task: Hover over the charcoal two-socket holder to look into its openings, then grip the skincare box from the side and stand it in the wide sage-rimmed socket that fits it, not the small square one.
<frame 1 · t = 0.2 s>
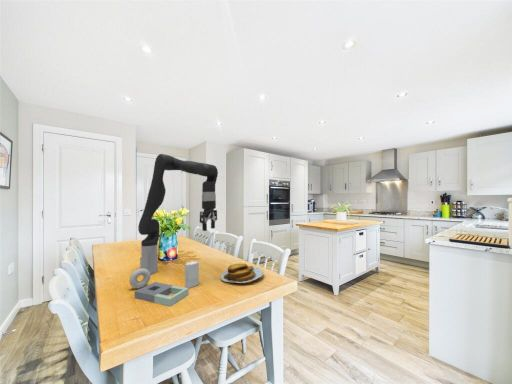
hand: (208, 229, 118), 29 cm above the table, tool pointing down, fingers open, 8 cm apart
skincare box: (191, 286, 114), on the table
socket holder: (167, 297, 101), on the table
food on plate: (242, 277, 126), on the table
donut: (140, 288, 112), on the table
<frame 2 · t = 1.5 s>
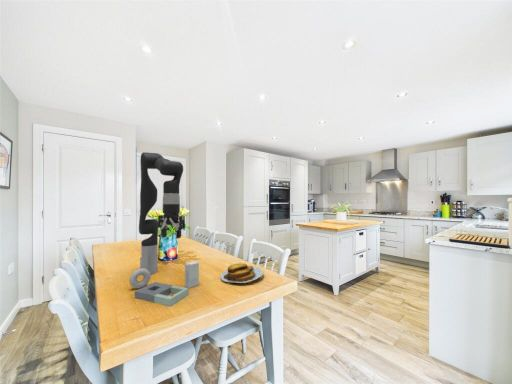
hand: (171, 237, 101), 28 cm above the table, tool pointing down, fingers open, 8 cm apart
nothing on the table moved.
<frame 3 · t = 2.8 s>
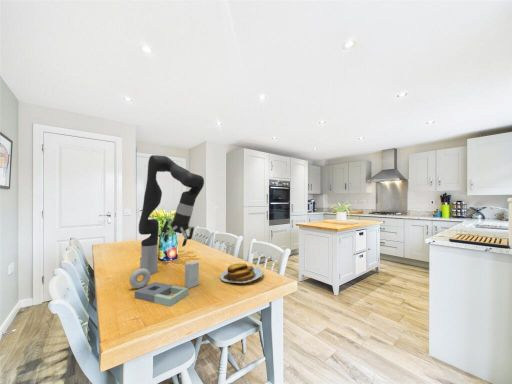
hand: (174, 244, 106), 24 cm above the table, tool tilted 20°, fingers open, 8 cm apart
nothing on the table moved.
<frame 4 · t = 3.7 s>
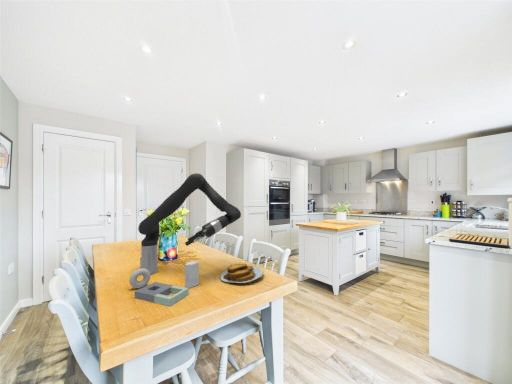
hand: (187, 242, 116), 23 cm above the table, tool tilted 65°, fingers open, 8 cm apart
nothing on the table moved.
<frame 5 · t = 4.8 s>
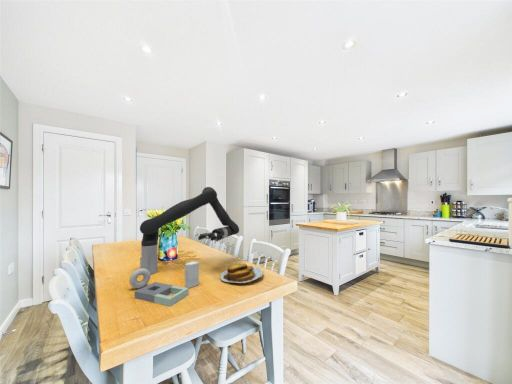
hand: (205, 238, 125), 23 cm above the table, tool horizontal, fingers open, 8 cm apart
nothing on the table moved.
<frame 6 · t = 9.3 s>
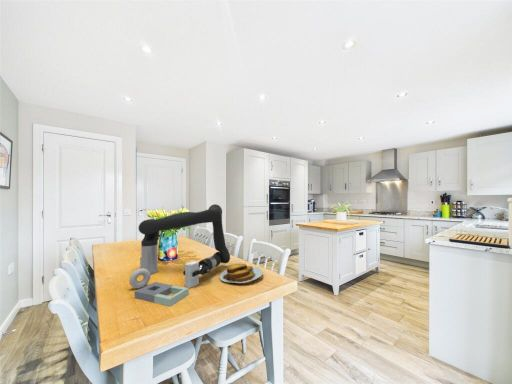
hand: (188, 274, 112), 7 cm above the table, tool horizontal, fingers closed on skincare box, 5 cm apart
skincare box: (191, 286, 114), on the table, touching gripper
everything else where it was.
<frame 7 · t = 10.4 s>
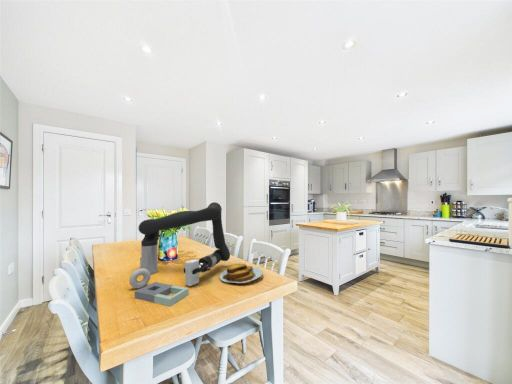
hand: (188, 271, 112), 8 cm above the table, tool horizontal, fingers closed on skincare box, 5 cm apart
skincare box: (192, 284, 114), point 1 cm above the table, touching gripper
everything else where it was.
when the fingers open (8 cm above the table, at t = 15.8 s): skincare box moves 1 cm, resting in socket holder.
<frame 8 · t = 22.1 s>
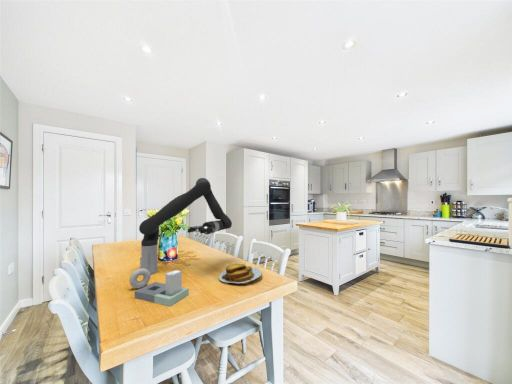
hand: (194, 231, 120), 28 cm above the table, tool horizontal, fingers open, 8 cm apart
skincare box: (173, 298, 100), resting in socket holder
at the end: skincare box 1.3 cm from the target spot on the socket holder, point 0.0 cm above the socket holder's base; skincare box tilted 0°; the gripper is holding nothing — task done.
